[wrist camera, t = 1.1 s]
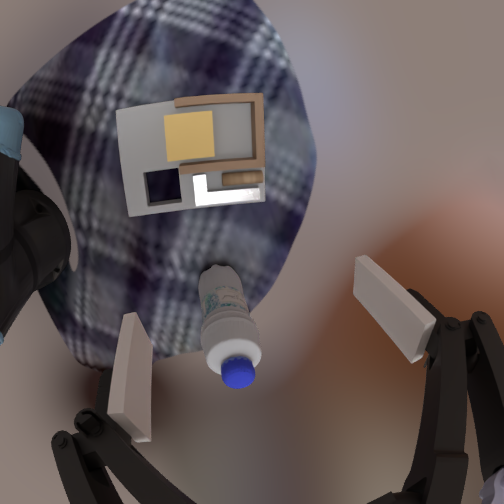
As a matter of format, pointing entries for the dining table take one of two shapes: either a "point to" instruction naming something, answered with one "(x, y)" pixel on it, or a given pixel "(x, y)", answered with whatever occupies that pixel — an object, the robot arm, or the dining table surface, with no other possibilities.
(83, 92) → the dining table surface
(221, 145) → the cubby deck
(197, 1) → the dining table surface
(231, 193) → the crook tool
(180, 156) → the block
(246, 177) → the dowel
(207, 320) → the bottle
